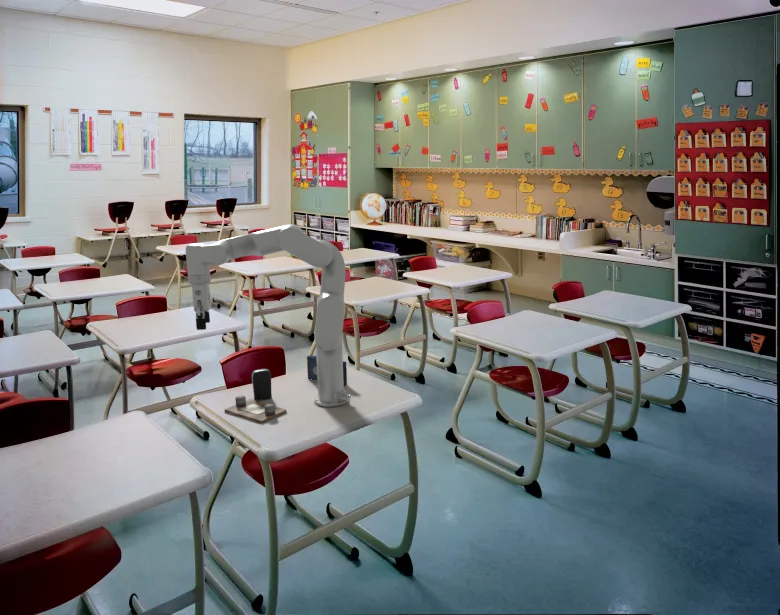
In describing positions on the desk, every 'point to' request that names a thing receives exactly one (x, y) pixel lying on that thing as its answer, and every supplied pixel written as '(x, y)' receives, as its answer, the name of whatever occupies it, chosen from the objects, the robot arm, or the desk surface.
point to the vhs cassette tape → (313, 369)
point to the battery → (261, 384)
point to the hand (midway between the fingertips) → (203, 326)
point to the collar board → (254, 410)
